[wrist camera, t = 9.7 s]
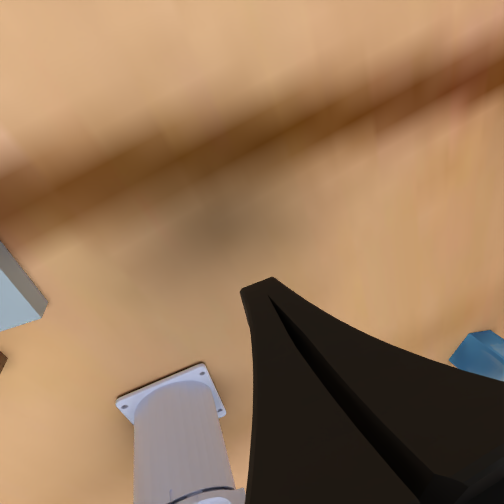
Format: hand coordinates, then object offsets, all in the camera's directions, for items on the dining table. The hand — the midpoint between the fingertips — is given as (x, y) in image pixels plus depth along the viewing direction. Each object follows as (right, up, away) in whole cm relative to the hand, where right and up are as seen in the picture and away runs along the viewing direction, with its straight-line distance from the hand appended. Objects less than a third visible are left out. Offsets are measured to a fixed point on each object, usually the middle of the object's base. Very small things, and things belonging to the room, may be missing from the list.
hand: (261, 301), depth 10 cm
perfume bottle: (+37, -14, +36) cm, 54 cm away
